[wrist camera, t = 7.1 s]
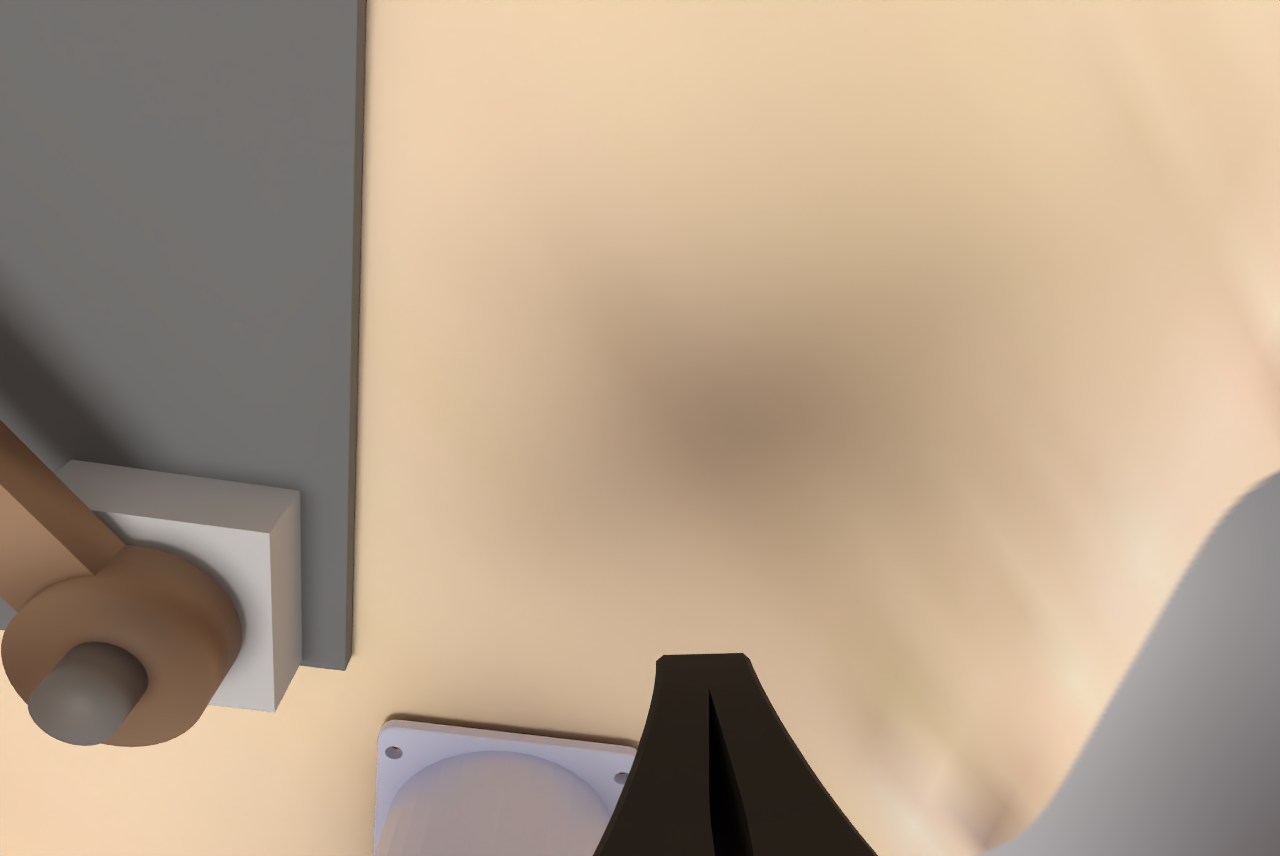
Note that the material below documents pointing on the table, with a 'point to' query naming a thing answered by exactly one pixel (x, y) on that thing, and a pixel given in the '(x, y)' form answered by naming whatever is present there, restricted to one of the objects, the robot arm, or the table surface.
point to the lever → (102, 618)
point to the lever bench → (194, 293)
